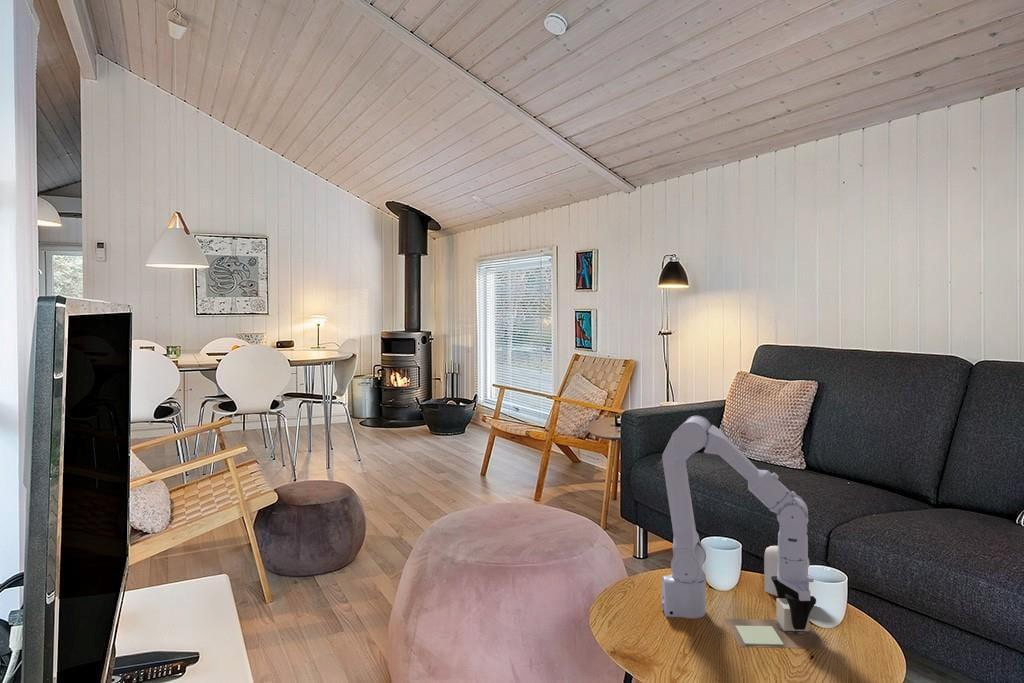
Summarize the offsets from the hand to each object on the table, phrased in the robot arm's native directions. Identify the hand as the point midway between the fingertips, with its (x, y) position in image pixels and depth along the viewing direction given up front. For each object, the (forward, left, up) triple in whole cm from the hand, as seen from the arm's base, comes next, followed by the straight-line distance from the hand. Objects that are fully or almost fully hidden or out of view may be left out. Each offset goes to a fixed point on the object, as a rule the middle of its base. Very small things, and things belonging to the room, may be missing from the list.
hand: (792, 620), depth 141 cm
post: (0, 0, -2) cm, 2 cm away
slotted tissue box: (0, 0, -1) cm, 1 cm away
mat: (-8, -4, -2) cm, 9 cm away
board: (-5, -2, -3) cm, 6 cm away
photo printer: (+4, +16, -3) cm, 17 cm away
